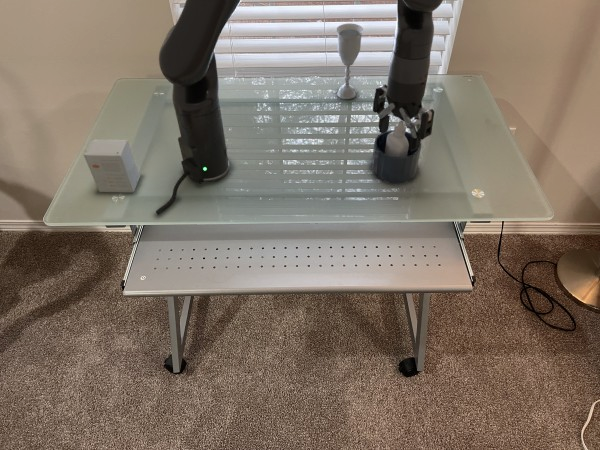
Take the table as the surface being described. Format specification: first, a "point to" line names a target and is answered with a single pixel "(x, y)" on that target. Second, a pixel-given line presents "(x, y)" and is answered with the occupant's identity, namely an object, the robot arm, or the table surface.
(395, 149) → the eye dropper bottle
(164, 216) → the table surface
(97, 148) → the small box
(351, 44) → the chalice
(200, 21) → the robot arm
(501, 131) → the table surface
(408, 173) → the dark blue round container
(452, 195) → the table surface
